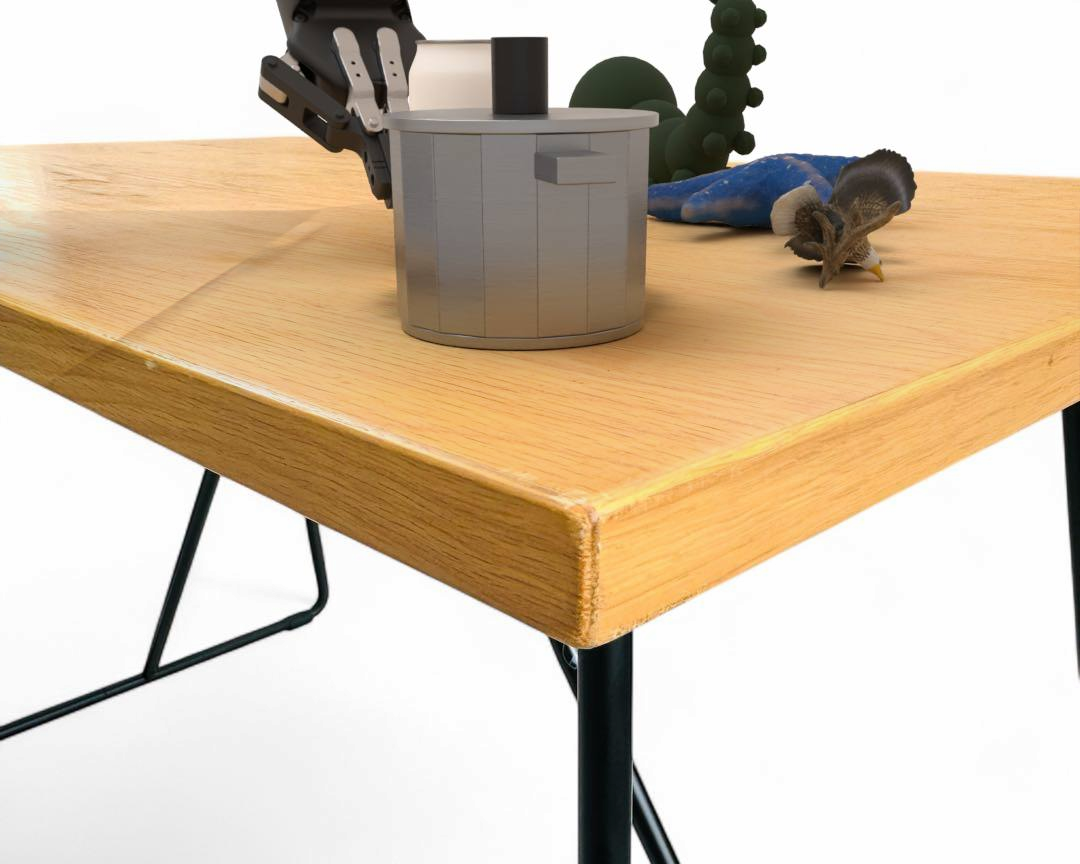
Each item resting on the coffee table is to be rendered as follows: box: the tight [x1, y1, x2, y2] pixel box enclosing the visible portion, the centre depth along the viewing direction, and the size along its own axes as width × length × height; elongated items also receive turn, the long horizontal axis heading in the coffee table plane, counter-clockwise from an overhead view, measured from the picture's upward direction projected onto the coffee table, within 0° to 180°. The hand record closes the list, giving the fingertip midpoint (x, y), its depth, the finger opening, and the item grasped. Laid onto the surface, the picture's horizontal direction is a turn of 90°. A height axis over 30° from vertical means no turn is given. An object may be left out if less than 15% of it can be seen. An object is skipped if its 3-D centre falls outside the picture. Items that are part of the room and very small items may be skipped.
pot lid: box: [382, 36, 659, 134], centre depth 51 cm, size 12×12×4 cm
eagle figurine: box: [770, 147, 918, 290], centre depth 65 cm, size 8×7×9 cm
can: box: [408, 38, 492, 111], centre depth 63 cm, size 6×6×12 cm
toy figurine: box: [567, 0, 768, 187], centre depth 100 cm, size 9×19×25 cm
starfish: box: [647, 152, 913, 228], centre depth 84 cm, size 19×19×5 cm
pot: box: [389, 128, 649, 351], centre depth 53 cm, size 11×16×8 cm
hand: (404, 198), depth 67 cm, fingers closed
